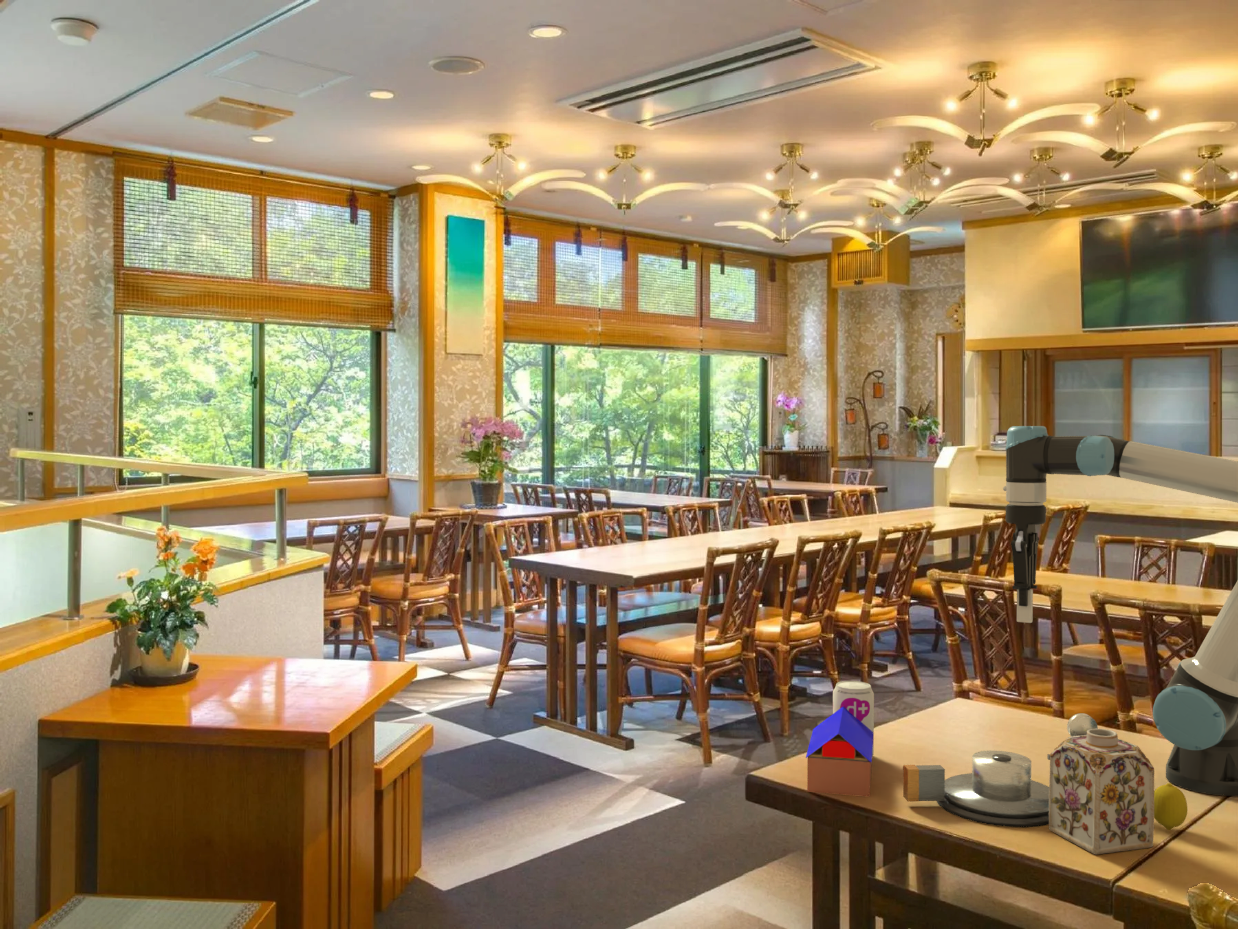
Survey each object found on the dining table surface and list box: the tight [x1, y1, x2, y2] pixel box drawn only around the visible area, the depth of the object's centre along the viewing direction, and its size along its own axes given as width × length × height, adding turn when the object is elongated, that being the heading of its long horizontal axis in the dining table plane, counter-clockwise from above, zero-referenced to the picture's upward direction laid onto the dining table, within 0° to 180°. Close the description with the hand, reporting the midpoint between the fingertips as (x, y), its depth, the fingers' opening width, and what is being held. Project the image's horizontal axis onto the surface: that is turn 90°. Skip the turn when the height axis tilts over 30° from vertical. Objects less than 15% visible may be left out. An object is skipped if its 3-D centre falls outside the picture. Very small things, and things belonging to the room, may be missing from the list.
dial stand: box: [1047, 713, 1099, 761], centre depth 196 cm, size 8×4×16 cm, turn 86°
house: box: [805, 706, 873, 797], centre depth 209 cm, size 12×20×12 cm, turn 166°
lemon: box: [1154, 782, 1188, 831], centre depth 182 cm, size 6×6×8 cm
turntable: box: [902, 764, 1049, 818], centre depth 194 cm, size 27×20×6 cm
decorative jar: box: [1048, 728, 1155, 856], centre depth 178 cm, size 12×12×18 cm
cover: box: [971, 750, 1032, 802], centre depth 194 cm, size 10×10×6 cm
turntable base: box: [936, 799, 1049, 828], centre depth 194 cm, size 22×22×1 cm
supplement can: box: [832, 680, 875, 758], centre depth 222 cm, size 8×8×15 cm
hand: (1024, 621), depth 215 cm, fingers closed
